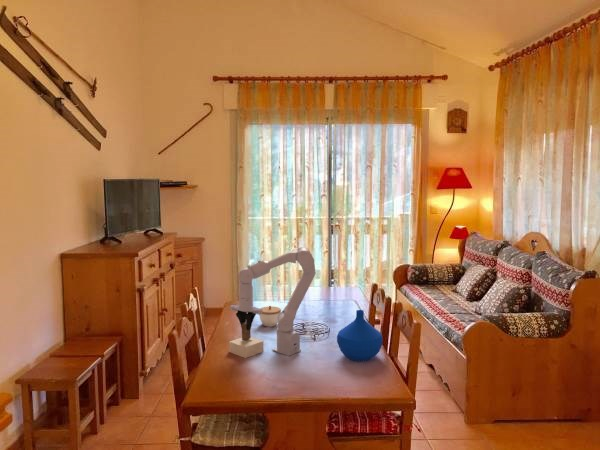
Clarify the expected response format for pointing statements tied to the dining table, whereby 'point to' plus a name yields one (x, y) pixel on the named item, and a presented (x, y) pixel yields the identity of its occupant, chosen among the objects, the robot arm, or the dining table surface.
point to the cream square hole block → (246, 347)
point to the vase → (359, 339)
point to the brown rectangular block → (245, 332)
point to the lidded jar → (270, 315)
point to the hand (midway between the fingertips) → (246, 329)
